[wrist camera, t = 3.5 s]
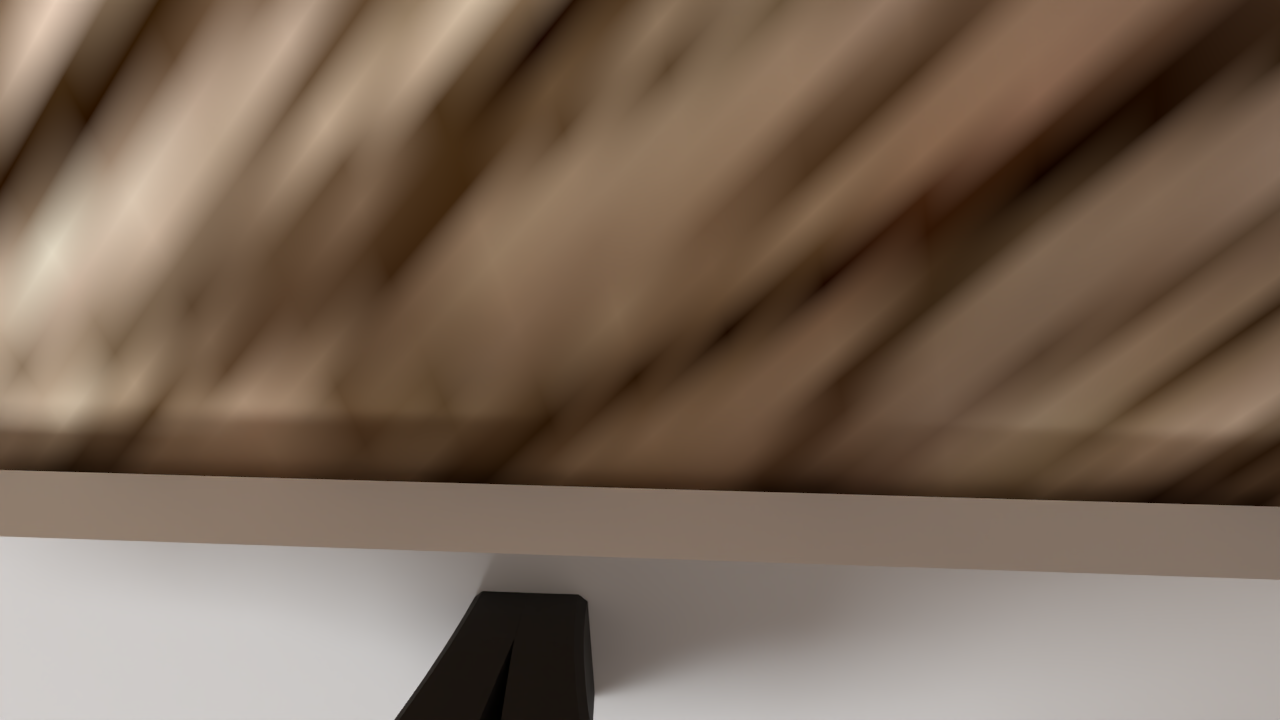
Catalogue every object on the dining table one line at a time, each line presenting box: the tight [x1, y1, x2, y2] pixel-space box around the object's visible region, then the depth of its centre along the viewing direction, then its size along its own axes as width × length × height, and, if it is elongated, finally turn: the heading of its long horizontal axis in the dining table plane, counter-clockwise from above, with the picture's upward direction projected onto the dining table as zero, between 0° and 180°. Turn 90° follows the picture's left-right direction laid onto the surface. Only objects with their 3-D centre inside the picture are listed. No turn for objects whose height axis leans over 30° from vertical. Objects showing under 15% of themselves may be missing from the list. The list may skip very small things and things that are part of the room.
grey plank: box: [0, 470, 1280, 720], centre depth 13 cm, size 8×20×1 cm, turn 91°
